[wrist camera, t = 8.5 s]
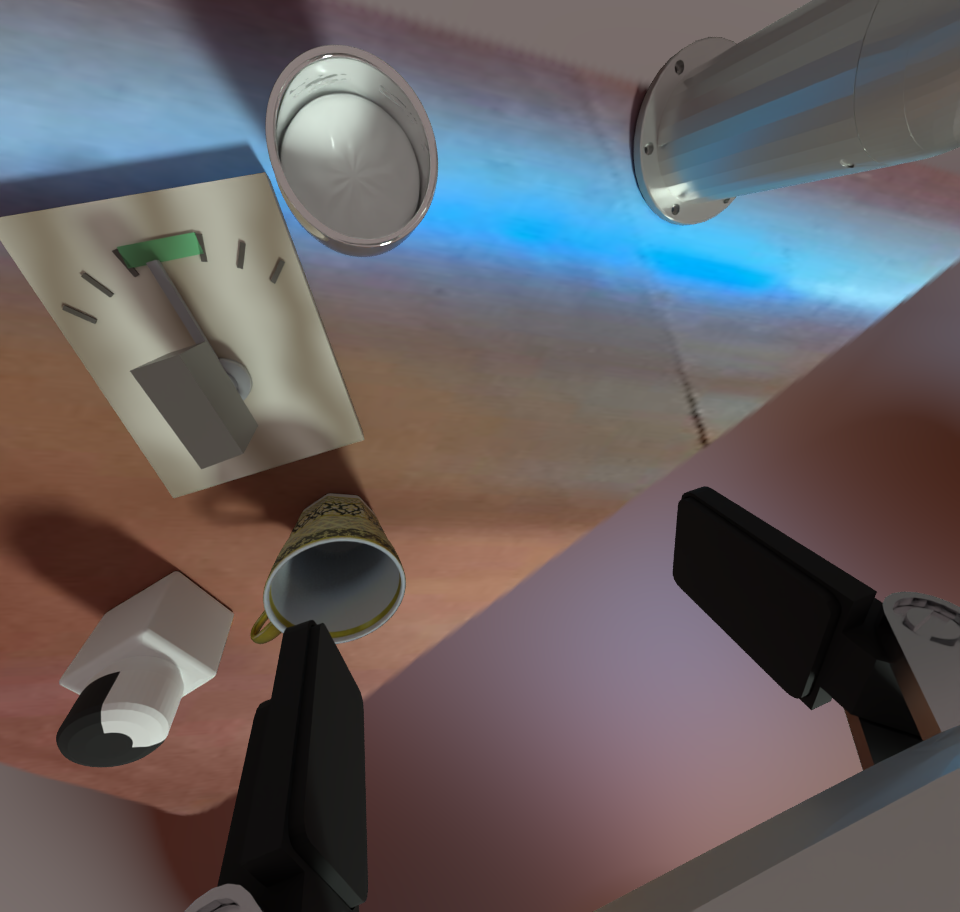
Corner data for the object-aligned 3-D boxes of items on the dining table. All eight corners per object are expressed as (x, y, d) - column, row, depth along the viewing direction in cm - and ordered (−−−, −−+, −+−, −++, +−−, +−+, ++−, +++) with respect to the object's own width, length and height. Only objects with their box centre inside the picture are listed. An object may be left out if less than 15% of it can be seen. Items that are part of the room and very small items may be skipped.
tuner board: (269, 179, 27) (264, 171, 25) (362, 431, 36) (364, 440, 34) (11, 223, 24) (-17, 218, 22) (182, 486, 33) (172, 499, 31)
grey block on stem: (180, 253, 25) (118, 245, 18) (271, 409, 30) (250, 451, 23) (127, 269, 25) (42, 267, 18) (228, 425, 30) (194, 472, 23)
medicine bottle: (170, 654, 38) (108, 794, 28) (104, 612, 35) (4, 755, 24) (236, 613, 39) (199, 736, 28) (177, 567, 35) (110, 690, 25)
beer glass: (273, 198, 27) (213, 129, 14) (345, 124, 27) (351, -17, 14) (351, 282, 31) (362, 288, 18) (416, 218, 30) (475, 175, 17)
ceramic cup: (348, 455, 36) (352, 512, 27) (410, 526, 41) (430, 593, 32) (226, 537, 36) (190, 621, 27) (304, 598, 41) (294, 686, 32)
